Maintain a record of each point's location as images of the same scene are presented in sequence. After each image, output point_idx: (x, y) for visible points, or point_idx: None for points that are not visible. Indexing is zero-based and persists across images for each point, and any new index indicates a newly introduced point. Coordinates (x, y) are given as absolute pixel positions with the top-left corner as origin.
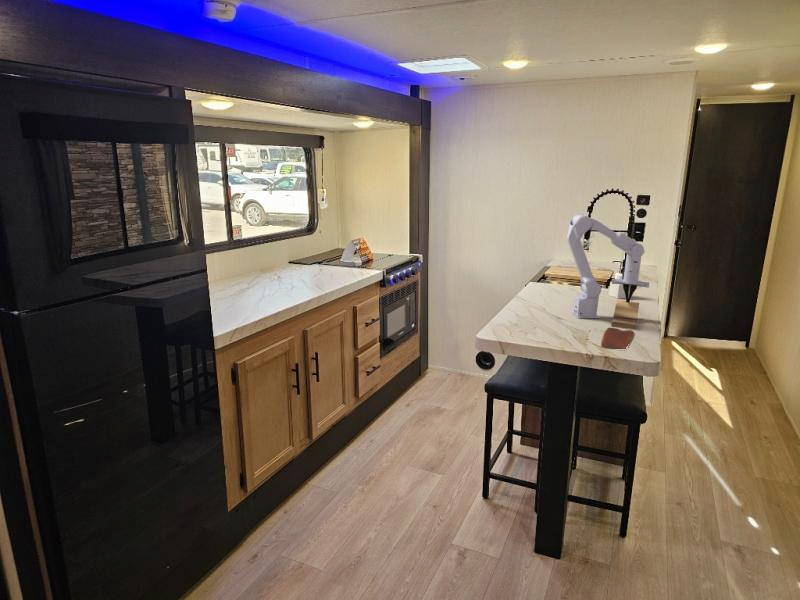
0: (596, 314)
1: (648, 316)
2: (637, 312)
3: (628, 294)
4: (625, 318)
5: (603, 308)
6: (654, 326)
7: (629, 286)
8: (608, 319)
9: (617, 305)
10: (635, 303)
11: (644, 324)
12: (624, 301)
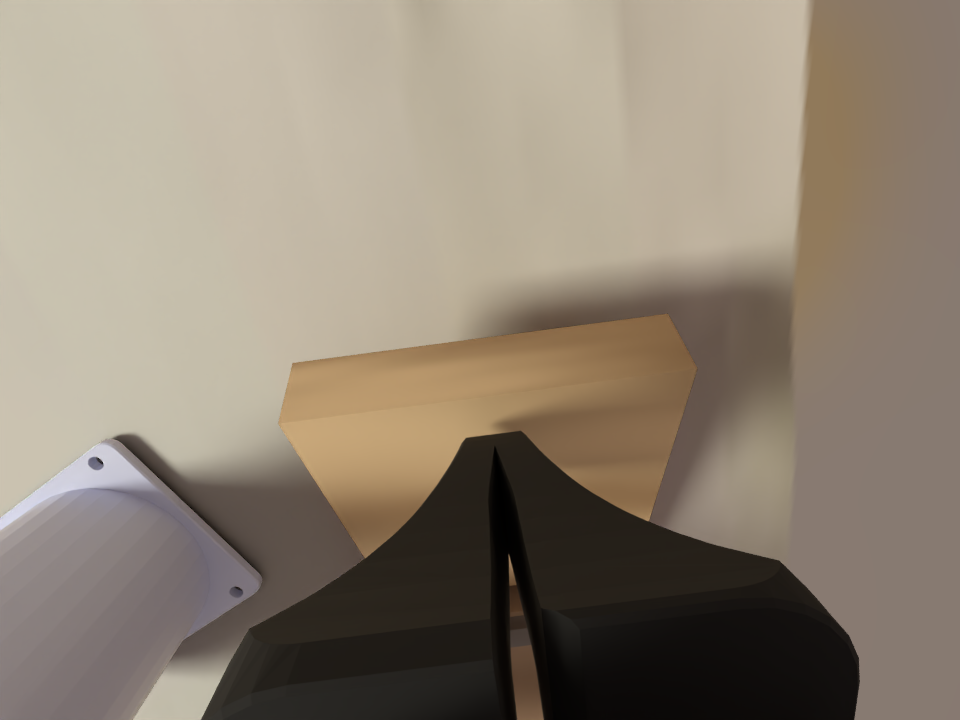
0: (199, 581)
1: (737, 107)
2: (647, 510)
3: (489, 495)
4: (525, 634)
5: (82, 34)
6: (788, 519)
7: (504, 701)
8: (345, 549)
9: (354, 498)
10: (625, 398)
11: (696, 509)
12: (426, 414)
